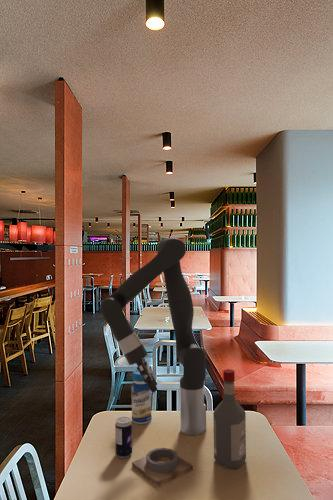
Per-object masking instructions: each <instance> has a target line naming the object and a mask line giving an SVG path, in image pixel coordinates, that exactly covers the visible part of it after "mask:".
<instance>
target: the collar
mask: <svg viewBox="0 0 333 500" xmlns="http://www.w3.org/2000/svg"><path fill="white" fill-rule="evenodd" d="M145 456H146V464H147V468H148V469H150V470H151V471H153V472H158V473H165V472H170V471H172V470H174V469H176V467H177V465H178V456H179V455H178V452H177V451H175V450H173V449H172V448H167V447H158V448H154V449H151V450H149V451H148V452H147V453H146V455H145ZM157 457H167V458H170V459H172V460H171V461H169V462H167V463H157V462H154V461H152V460H153V459H155V458H157Z"/></svg>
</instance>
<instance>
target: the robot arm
mask: <svg viewBox="0 0 333 500" xmlns="http://www.w3.org/2000/svg"><path fill="white" fill-rule="evenodd" d="M186 251H187V248H186V245H185V242H184V241H183V240H181V239H179V238H177V237H167V238H163V239H162V240H160V241H159V243H158V245H157V254H156V255H155V256H153V258H152V259H151V260H149V261H148V262H147V263H146V264H145V265H143V266H142V267H140V268H139V269H137V270H136V271H134V272H133V273H132V274H131V275H130V276H128V277H127V278H126V279H125V280H124V281H123V282H122V283H120V285H119V286H118V287H117V288H116V290H115V291H114V292H112V293H111V294H110V295H109V296H108V297H105V298H104V299H103V300H102V301H101V302H100V306H99V311H100V314H102V316H103V319H104V320H105V321H106V323H107V325H108V326H109V328H110V330H111V332H112V335H113V337H114V338H115V340H116V342H117V344H118V347H119V349H120V351H121V353H122V354H123V356H124V357H125V360H126V362H127V363H128V365H131V366H133V365H134V364H135V365H136V366H137V367H136V370H138V372H139V373H140V375H141V377H142V378H143V380H144V382H145V383H146V384H147V385H148V386H149V388H150V390H151V393H152V394H154V393H155V392H157V391H158V387H157V385H158V383H157V381H156V379H155V377H154V375H153V372H152V369H151V367H150V364H149V363H148V361H147V360H146V359H145V358H146V357H147V356H148V351H147V350H146V348H145V346H144V345H143V342H142V341H141V339H140V338H139V336H138V335H137V333H136V332H135V330H134V328H133V326H132V325H131V323H130V321H129V320H128V318H127V317H126V315H125V312H124V311H123V309H124V308H125V307H126V306H127V305H128V304H129V303H130V302H131V301H133V300H134V299H135V298H136V297H137V296H138V295H139V294H141V292H142V291H144V290H145V289H146V287H147V286H149V285H150V284H151V283H152V282H153V281H155V279H157V278H158V276H160V275H161V274H162V273H163V276H164V285H165V289H166V291H165V292H166V295H167V296H166V297H167V304H168V309H169V313H170V318H171V321H172V327H173V330H174V335H175V336H174V338H175V348H176V356H177V360H178V362H179V363H180V365H182V367H183V368H182V369H183V370H182V376H181V377H180V379H179V391H180V392H179V399H180V400H179V403H180V405H179V406H180V407H179V408H180V410H179V411H180V415H179V417H180V418H179V419H180V431H181V433H182V434H184V435H187V436H199V435H202V434H203V433H205V431H206V429H207V405H206V404H205V387H204V386H205V380H206V376H207V374H206V373H207V358H206V353H205V351H204V350H203V348H201V347H200V346H198V345H197V344H196V341H195V337H194V332H193V319H194V313H195V312H194V302H193V298H192V293H191V291H190V288H189V285H188V284H187V281H186V279H185V276H184V275H183V272H182V266H181V260H182V259H184V257H185V255H186Z"/></svg>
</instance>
